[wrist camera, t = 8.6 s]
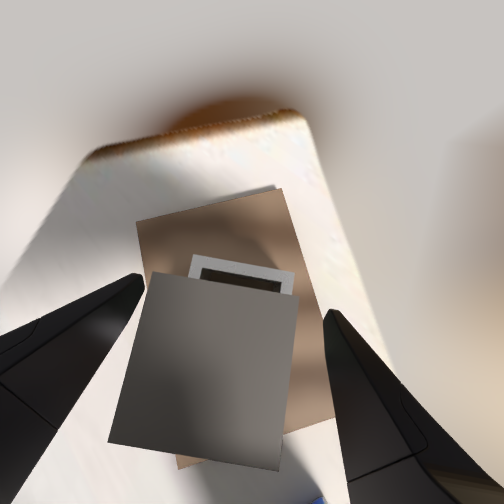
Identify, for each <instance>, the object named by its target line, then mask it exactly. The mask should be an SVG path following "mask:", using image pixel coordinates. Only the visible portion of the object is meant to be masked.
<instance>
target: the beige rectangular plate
mask: <svg viewBox="0 0 504 504" xmlns="http://www.w3.org/2000/svg"><path fill="white" fill-rule="evenodd" d="M136 225H137V231H138V237H139V243H140V249H141V255H142V261H143V266H144V272H145V278H146V284H147V290H148V286H149V283H150V279H151V275H152V271H154V272H160V273H166V274H172V275H178V276H184V277H188V274H189V270H190V266H191V262H192V258H193V254H195V255H201V256H206V257H212V258H217V259H223V260H228V261H234V262H239V263H245V264H250V265H256V266H261V267H267V268H272V269H278V270H283V271H289V272H294V273H295V275H294V282H293V290H292V295H294V296H300V297H299V305H298V314H297V322H296V330H295V339H294V347H293V355H292V364H291V372H290V381H289V389H288V397H287V406H286V414H285V422H284V431H283V435H284V434H287V433H290V432H293V431H296V430H299V429H302V428H305V427H308V426H311V425H314V424H317V423H319V422H322V421H325V420H328V419H331V418H334V417H335V412H334V406H333V400H332V394H331V389H330V383H329V377H328V371H327V366H326V360H325V351H324V336H323V318H322V315H321V312H320V309H319V306H318V303H317V299H316V296H315V293H314V290H313V287H312V283H311V280H310V277H309V274H308V271H307V268H306V264H305V261H304V258H303V255H302V252H301V248H300V245H299V242H298V239H297V236H296V233H295V229H294V226H293V223H292V220H291V217H290V214H289V210H288V207H287V204H286V201H285V198H284V194H283V191H282V188H280V189H276V190H271V191H267V192H263V193H258V194H254V195H250V196H245V197H241V198H237V199H232V200H228V201H224V202H219V203H215V204H211V205H207V206H202V207H198V208H194V209H189V210H185V211H181V212H176V213H172V214H168V215H163V216H159V217H155V218H150V219H146V220H142V221H137V222H136ZM210 281H213V282H219V283H224V284H230V285H236V286H242V287H248V288H254V289H259V290H265V291H271V292H273V285H274V284H272V283H267V282H261V281H256V280H250V279H245V278H239V277H234V276H228V275H223V274H217V273H211V277H210ZM176 460H177V466H178V470H179V469H182V468H185V467H188V466H191V465H194V464H197V463H200V462H203V461H206V460H208V459H202V458H196V457H190V456H184V455H178V454H176Z"/></svg>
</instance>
